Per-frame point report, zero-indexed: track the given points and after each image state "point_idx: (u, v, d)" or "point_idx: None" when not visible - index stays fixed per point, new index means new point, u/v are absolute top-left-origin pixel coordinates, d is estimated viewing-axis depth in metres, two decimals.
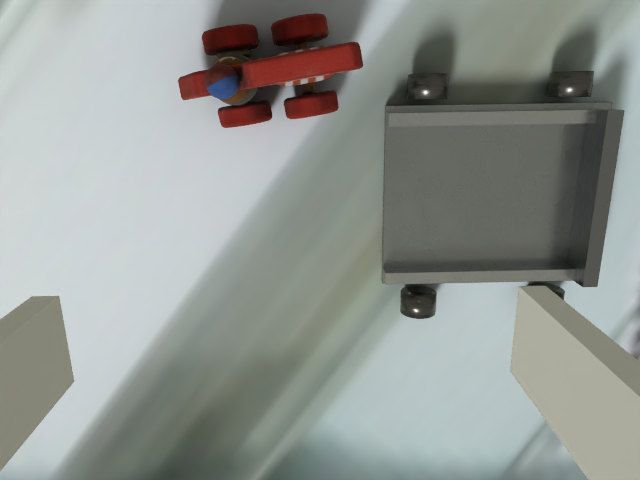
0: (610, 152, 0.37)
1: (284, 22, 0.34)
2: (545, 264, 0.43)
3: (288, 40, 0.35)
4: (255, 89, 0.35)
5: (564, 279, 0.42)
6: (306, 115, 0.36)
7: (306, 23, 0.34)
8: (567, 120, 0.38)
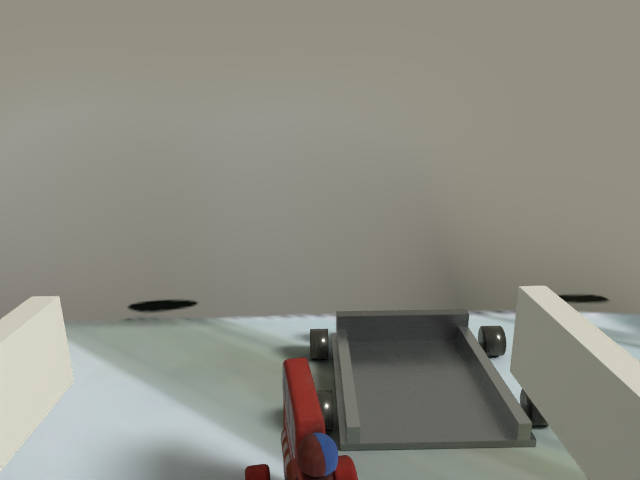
0: (365, 313, 0.53)
1: None
2: (462, 347, 0.51)
3: None
4: None
5: (469, 330, 0.52)
6: (354, 470, 0.31)
7: (254, 468, 0.31)
8: (345, 339, 0.50)
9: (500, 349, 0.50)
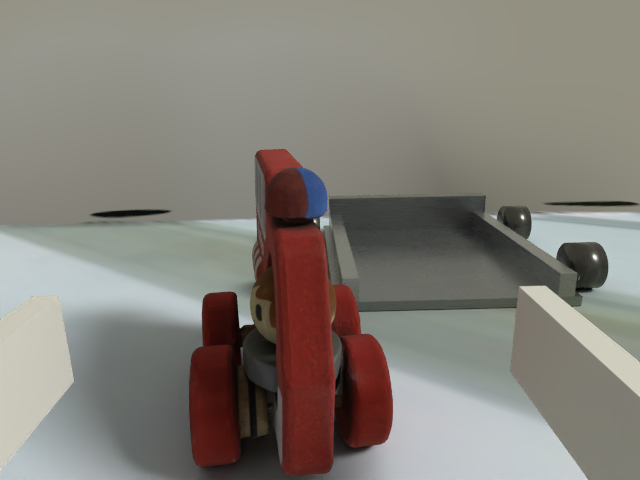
0: (363, 196, 0.45)
1: (207, 310, 0.21)
2: (479, 232, 0.43)
3: (236, 310, 0.21)
4: None
5: (486, 213, 0.44)
6: (352, 293, 0.23)
7: (216, 293, 0.22)
8: (339, 221, 0.42)
9: (524, 230, 0.42)
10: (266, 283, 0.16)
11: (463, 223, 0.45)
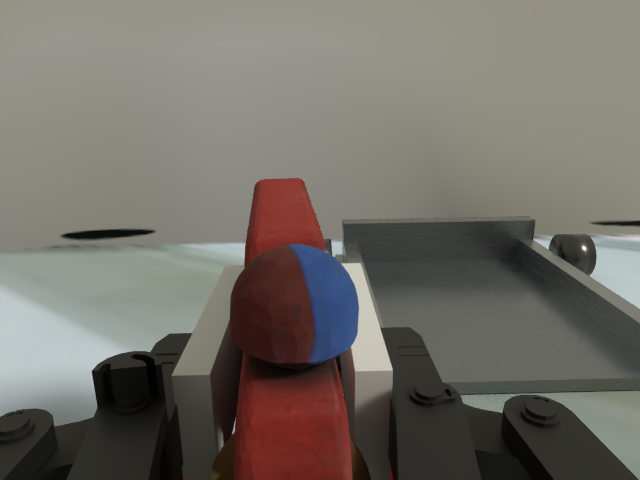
0: (385, 220, 0.36)
1: None
2: (528, 265, 0.35)
3: None
4: None
5: (536, 242, 0.36)
6: None
7: None
8: (356, 252, 0.34)
9: (587, 264, 0.33)
10: (230, 476, 0.08)
11: (507, 253, 0.37)
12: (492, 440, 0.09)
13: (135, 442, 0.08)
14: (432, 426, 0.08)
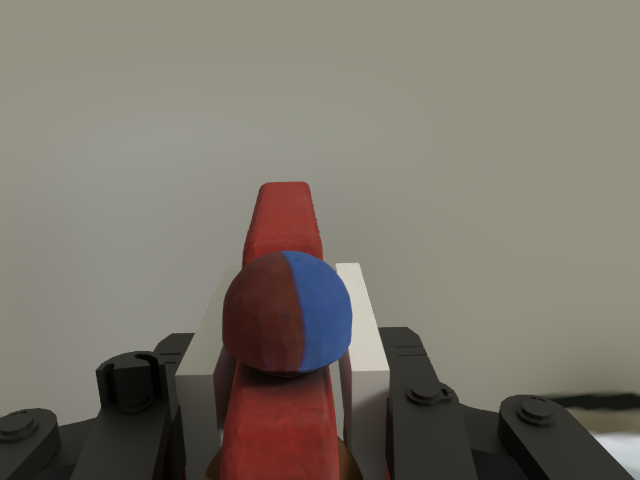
0: None
1: None
2: None
3: None
4: None
5: None
6: None
7: None
8: None
9: None
10: None
11: None
12: (489, 440, 0.09)
13: (139, 442, 0.08)
14: (428, 426, 0.08)
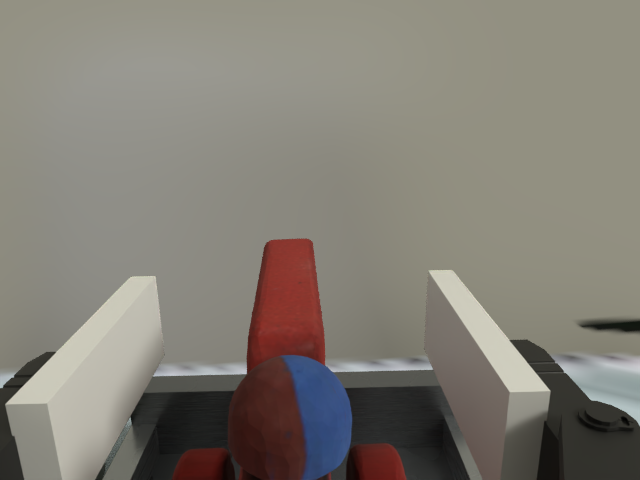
0: (207, 382, 0.21)
1: None
2: (454, 476, 0.19)
3: None
4: None
5: None
6: (402, 475, 0.14)
7: (197, 455, 0.15)
8: (132, 462, 0.18)
9: None
10: None
11: (423, 438, 0.21)
12: None
13: None
14: (605, 454, 0.08)
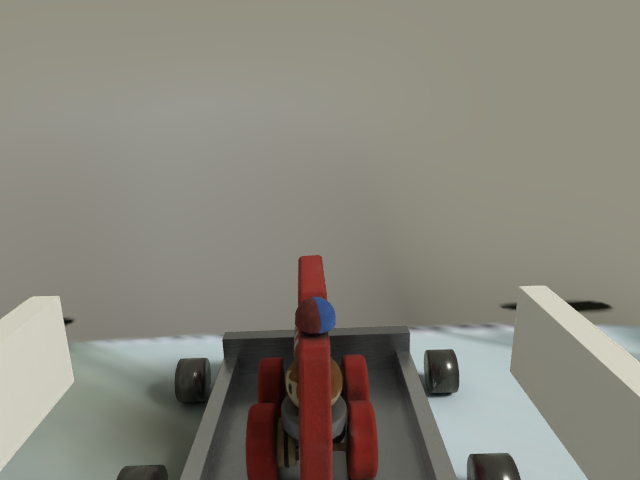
0: (264, 334, 0.37)
1: (261, 373, 0.30)
2: (400, 380, 0.36)
3: (281, 373, 0.31)
4: None
5: (409, 356, 0.36)
6: (364, 364, 0.31)
7: (268, 358, 0.32)
8: (229, 372, 0.35)
9: (451, 384, 0.34)
10: (295, 370, 0.25)
11: (385, 364, 0.38)
12: None
13: None
14: None
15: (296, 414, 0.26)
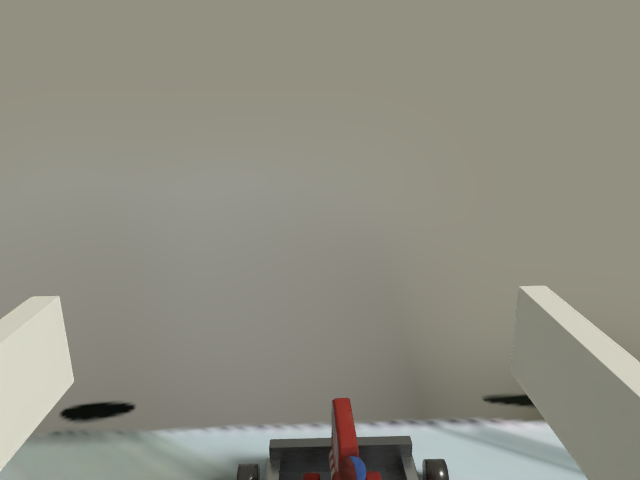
0: (301, 442, 0.49)
1: None
2: None
3: None
4: None
5: (412, 462, 0.48)
6: None
7: (309, 475, 0.43)
8: (276, 476, 0.47)
9: None
10: None
11: (392, 466, 0.49)
12: None
13: None
14: None
15: None
